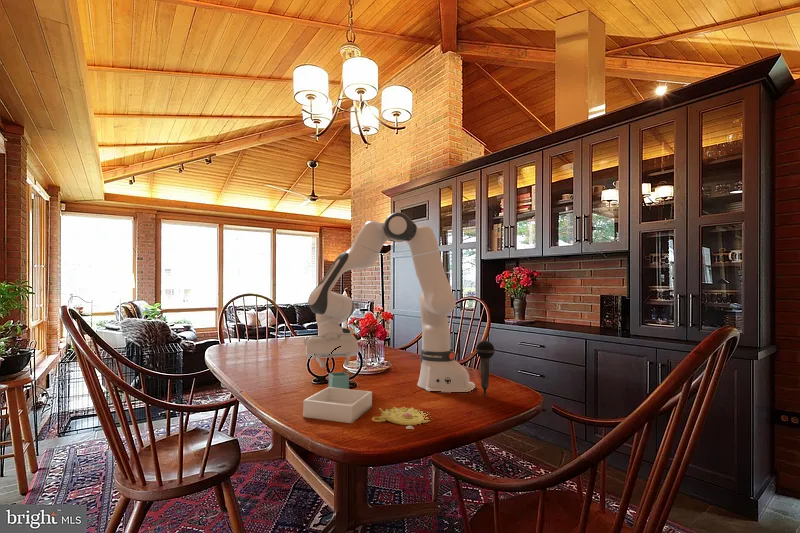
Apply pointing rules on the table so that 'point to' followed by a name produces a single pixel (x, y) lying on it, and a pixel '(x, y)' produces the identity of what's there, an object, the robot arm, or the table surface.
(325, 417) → the white open box
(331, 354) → the robot arm
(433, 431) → the table surface
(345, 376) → the block
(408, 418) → the decorative object
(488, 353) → the microphone
